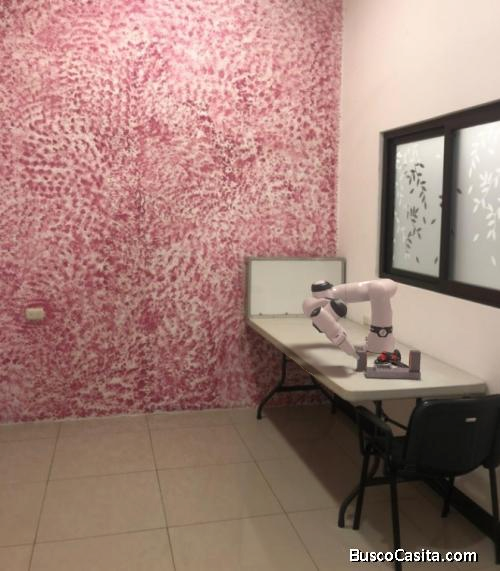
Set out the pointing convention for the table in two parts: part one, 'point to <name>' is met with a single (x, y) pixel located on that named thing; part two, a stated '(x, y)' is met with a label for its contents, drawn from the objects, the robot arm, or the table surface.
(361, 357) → the block
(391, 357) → the valve
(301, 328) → the table surface
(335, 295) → the robot arm
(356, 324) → the table surface
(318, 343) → the table surface
